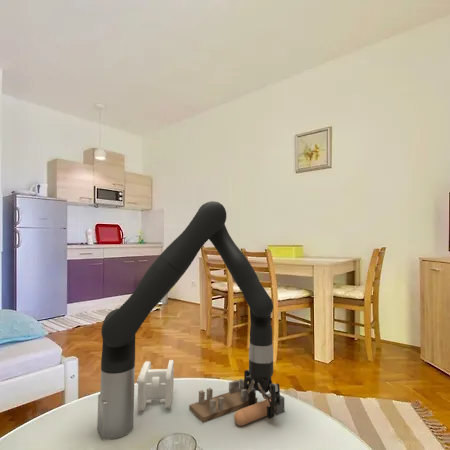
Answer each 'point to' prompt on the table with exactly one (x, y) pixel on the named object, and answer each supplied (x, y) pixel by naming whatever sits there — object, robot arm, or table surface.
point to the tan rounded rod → (256, 411)
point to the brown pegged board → (221, 402)
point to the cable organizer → (155, 384)
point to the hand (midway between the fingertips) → (261, 411)
